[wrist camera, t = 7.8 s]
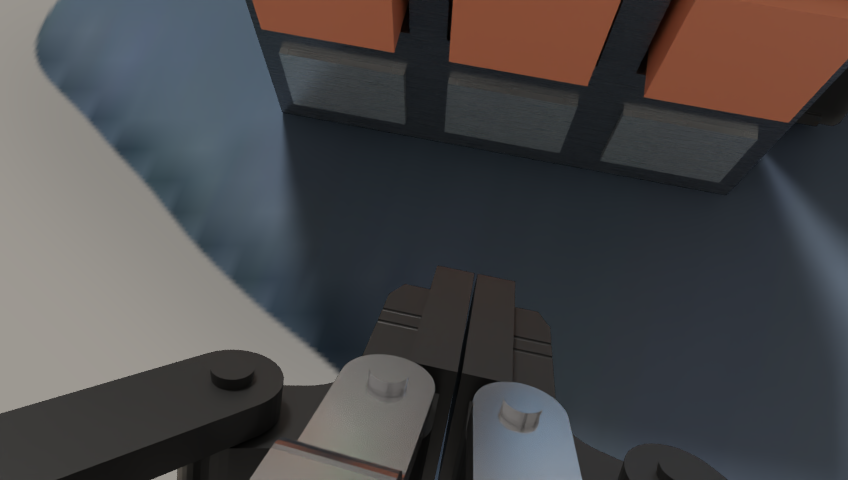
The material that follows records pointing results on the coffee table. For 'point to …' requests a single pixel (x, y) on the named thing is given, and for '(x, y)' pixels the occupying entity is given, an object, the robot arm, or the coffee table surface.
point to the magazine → (829, 104)
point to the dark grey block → (523, 101)
